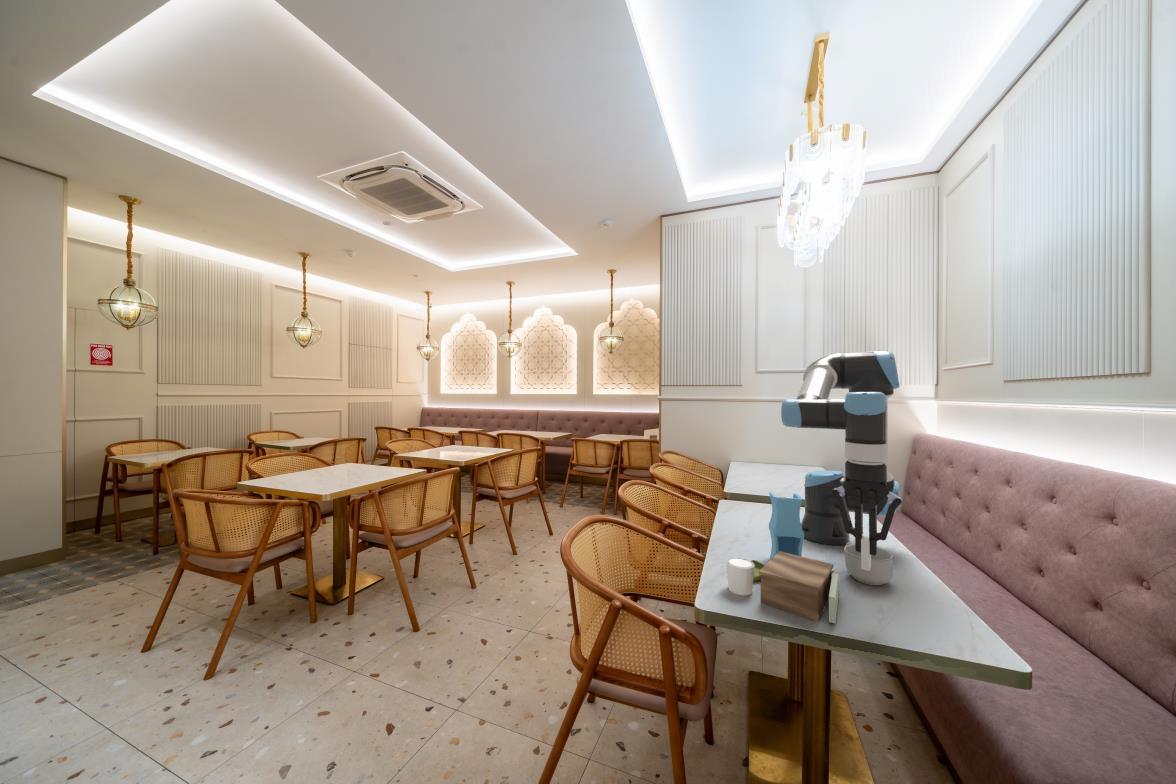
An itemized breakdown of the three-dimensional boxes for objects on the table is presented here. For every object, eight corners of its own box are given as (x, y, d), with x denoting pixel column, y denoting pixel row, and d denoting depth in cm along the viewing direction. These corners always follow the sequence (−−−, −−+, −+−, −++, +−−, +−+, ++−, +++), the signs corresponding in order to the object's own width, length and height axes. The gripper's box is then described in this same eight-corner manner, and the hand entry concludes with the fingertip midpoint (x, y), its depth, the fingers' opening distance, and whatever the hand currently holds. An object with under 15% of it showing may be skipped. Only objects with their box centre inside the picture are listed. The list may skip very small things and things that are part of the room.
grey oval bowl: (902, 591, 100) (902, 560, 100) (854, 587, 102) (854, 556, 102) (874, 568, 113) (874, 540, 114) (832, 565, 116) (832, 537, 116)
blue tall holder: (796, 558, 120) (796, 493, 120) (804, 569, 112) (804, 499, 113) (768, 556, 122) (768, 491, 122) (774, 566, 114) (774, 497, 115)
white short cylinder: (738, 581, 105) (738, 555, 105) (760, 592, 99) (760, 564, 99) (720, 587, 102) (720, 560, 102) (741, 599, 96) (741, 570, 96)
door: (832, 592, 98) (832, 570, 98) (839, 594, 97) (839, 571, 97) (828, 621, 85) (828, 596, 85) (836, 623, 84) (836, 598, 85)
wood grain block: (779, 578, 107) (779, 551, 107) (833, 594, 98) (833, 564, 98) (759, 602, 94) (759, 571, 94) (819, 622, 86) (818, 588, 86)
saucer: (730, 571, 112) (730, 563, 112) (754, 566, 115) (754, 559, 115) (754, 584, 104) (754, 576, 104) (778, 579, 107) (778, 571, 107)
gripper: (904, 462, 85) (904, 570, 86) (834, 456, 94) (835, 554, 94) (902, 467, 80) (902, 583, 80) (827, 460, 88) (828, 565, 89)
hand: (866, 567), depth 87 cm, fingers closed
